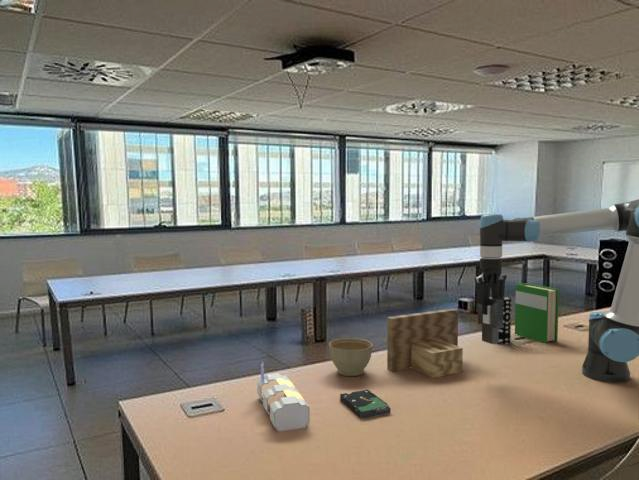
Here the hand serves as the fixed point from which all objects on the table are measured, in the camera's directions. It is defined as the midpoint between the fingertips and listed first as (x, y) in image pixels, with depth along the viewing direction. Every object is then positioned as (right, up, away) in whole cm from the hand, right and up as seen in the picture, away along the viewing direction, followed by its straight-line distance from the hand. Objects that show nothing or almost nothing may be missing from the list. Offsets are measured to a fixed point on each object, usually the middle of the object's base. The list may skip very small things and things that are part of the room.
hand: (490, 322), depth 177 cm
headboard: (-18, -19, +10) cm, 28 cm away
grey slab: (0, -7, 0) cm, 7 cm away
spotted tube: (+20, -16, +45) cm, 52 cm away
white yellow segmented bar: (-73, -23, -27) cm, 81 cm away
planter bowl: (-50, -20, +7) cm, 54 cm away
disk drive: (-47, -23, -24) cm, 58 cm away
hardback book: (+39, -16, +51) cm, 66 cm away
